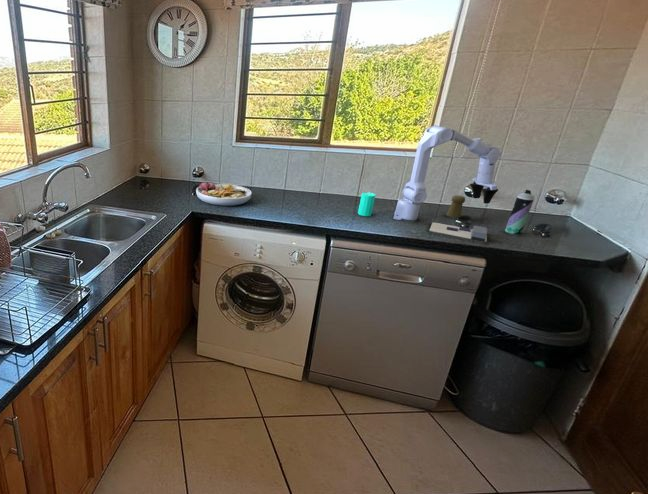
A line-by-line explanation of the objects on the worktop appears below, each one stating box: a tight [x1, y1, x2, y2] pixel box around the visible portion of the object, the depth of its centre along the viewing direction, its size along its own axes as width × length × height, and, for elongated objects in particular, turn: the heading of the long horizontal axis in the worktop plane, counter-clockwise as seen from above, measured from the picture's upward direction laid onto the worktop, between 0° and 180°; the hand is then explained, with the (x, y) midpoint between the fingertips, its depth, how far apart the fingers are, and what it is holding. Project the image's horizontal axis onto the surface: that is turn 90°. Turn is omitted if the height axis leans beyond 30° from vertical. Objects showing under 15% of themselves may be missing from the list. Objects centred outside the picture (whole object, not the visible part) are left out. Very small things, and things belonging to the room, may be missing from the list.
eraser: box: [470, 225, 488, 242], centre depth 170 cm, size 9×4×4 cm, turn 141°
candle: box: [357, 191, 377, 217], centre depth 198 cm, size 6×6×12 cm
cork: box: [445, 194, 466, 219], centre depth 195 cm, size 6×6×11 cm
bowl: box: [195, 181, 253, 207], centre depth 221 cm, size 30×30×8 cm
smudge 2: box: [459, 226, 472, 232], centre depth 178 cm, size 4×3×1 cm
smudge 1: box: [447, 227, 458, 231], centre depth 179 cm, size 4×3×1 cm
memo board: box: [429, 222, 488, 243], centre depth 177 cm, size 20×14×1 cm
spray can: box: [504, 189, 535, 235], centre depth 173 cm, size 6×6×20 cm
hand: (481, 200), depth 189 cm, fingers open, 7 cm apart
